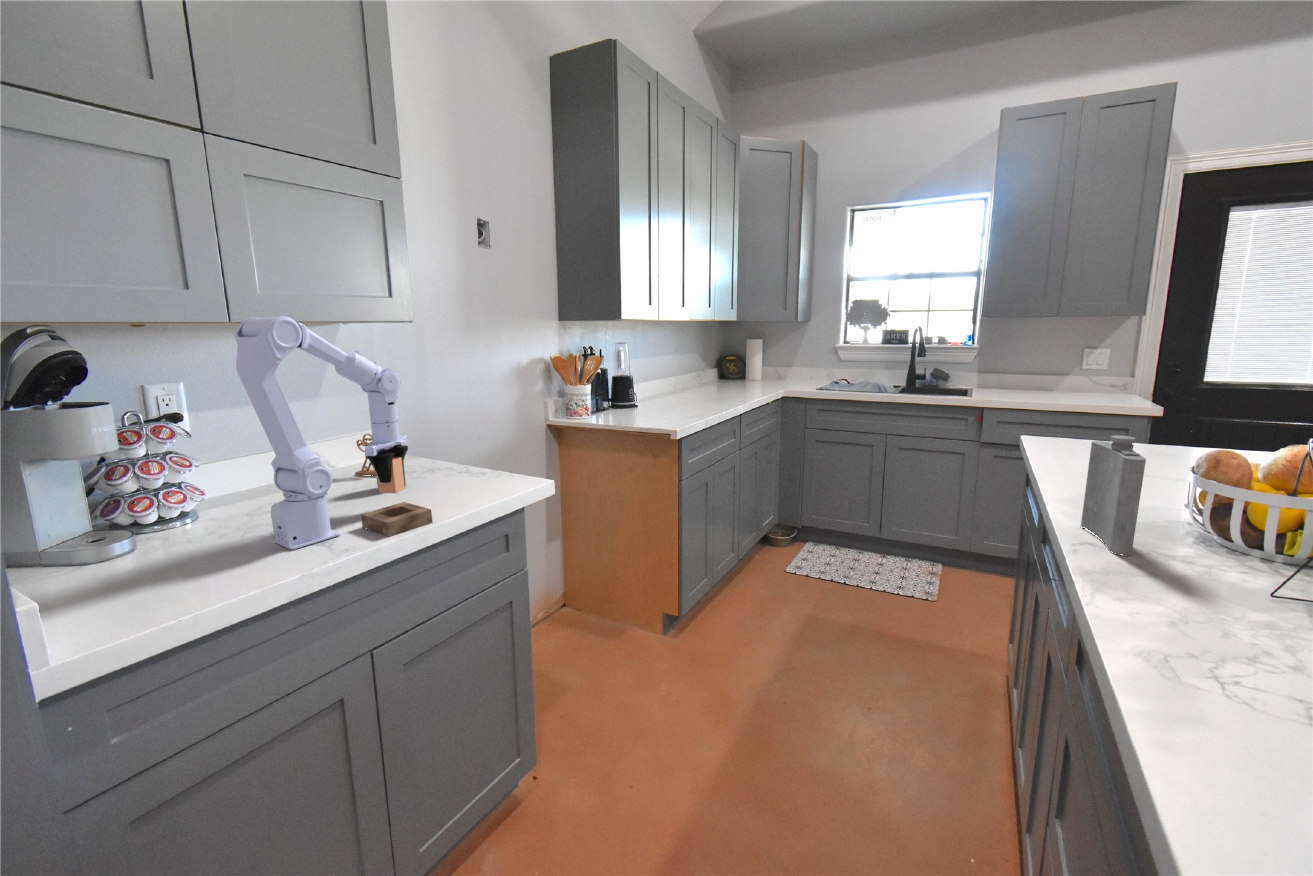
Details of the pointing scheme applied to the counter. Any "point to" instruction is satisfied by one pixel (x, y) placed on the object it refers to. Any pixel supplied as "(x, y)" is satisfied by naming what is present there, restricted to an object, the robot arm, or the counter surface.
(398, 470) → the peg
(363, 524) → the socket block
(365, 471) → the gingerbread man figurine
